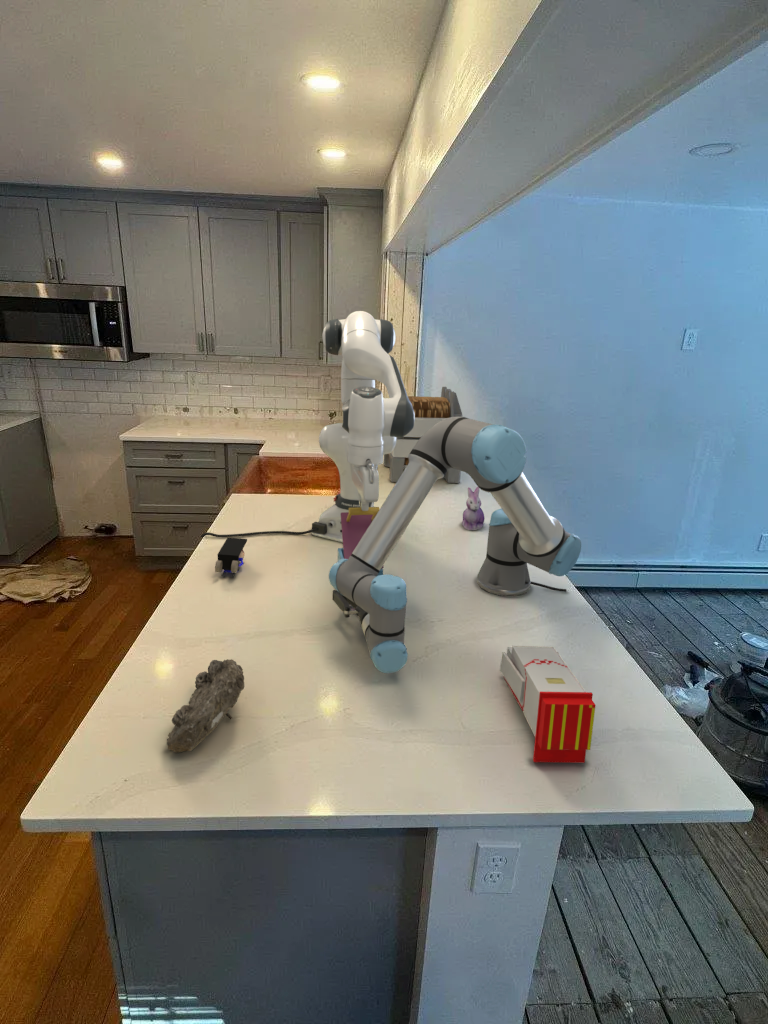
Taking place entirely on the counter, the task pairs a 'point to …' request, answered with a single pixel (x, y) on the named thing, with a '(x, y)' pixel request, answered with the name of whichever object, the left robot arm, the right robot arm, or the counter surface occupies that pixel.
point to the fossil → (206, 705)
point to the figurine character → (230, 556)
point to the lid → (355, 527)
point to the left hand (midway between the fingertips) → (363, 508)
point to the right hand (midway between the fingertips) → (361, 579)
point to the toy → (550, 702)
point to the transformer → (423, 431)
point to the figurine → (473, 511)
